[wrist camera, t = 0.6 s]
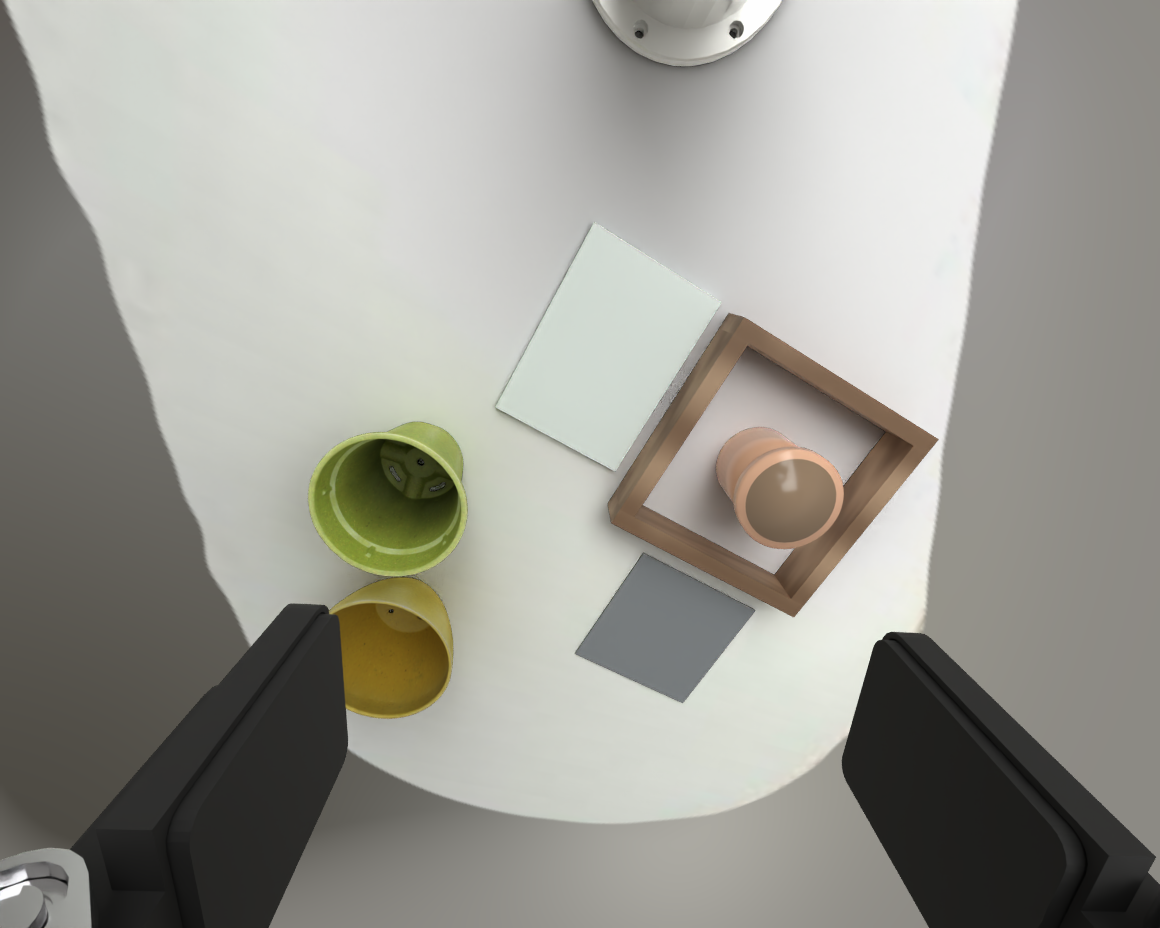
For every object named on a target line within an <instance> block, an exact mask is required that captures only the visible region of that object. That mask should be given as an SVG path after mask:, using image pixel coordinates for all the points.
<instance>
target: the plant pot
mask: <svg viewBox="0 0 1160 928" xmlns="http://www.w3.org/2000/svg"><path fill="white" fill-rule="evenodd" d="M419 459H422V460H423V461H424V465H422V466H420V465H419V464H418V462H417V461H418V460H419ZM390 466H393V467H394V469H395V471H396V473H397V475H398V476H399V478H400V479H401V482H400V481H397V480H396V479H395V477H394V476H393V475H392V474H391V472H390V469H389V467H390ZM462 472H463V457H462V453H461V450H460V448H459V446H458V444H457V443H456V441H455V440H454V439H453V437H452V436H451V435H450V434H449V433H448V432H446V431H445V430H443V429H442V428H439V427H437V426H434V425H431V424H427V423H423V422H411V423H406V424H403V425H401V426H399V427H397V428H394V429H392V430H390V431H388V432H374V433H367V434H362V435H358V436H355V437H352V438H349V439H347V440H345V441H343V442H341V443H340V444H338V445H337V446H335V447H334V448H332V449H331V450H330V451H329V452H328V453H327V454H326V455H325V456H324V457H323V458H322V459H321V461H320V462H319V464H318V465H317V467H316V468H315V470H314V472H313V475H312V477H311V480H310V484H309V490H308V504H309V510H310V515H311V519H312V522H313V524H314V526H315V529H316V530H317V532H318V534H319V535H320V537H321V538H322V539H323V541H324V543H325V544H326V545H327V546H328V547H329V548H330V549H331V550H332V551H333V552H334V553H335V554H337V555H338V556H339V557H340V558H341V559H342V560H344V561H345V562H347V563H349V564H350V565H352V566H354V567H356V568H359V569H361V570H364V571H366V572H369V573H372V574H377V575H382V576H392V577H393V576H408V575H413V574H417V573H420V572H423V571H426V570H428V569H430V568H432V567H434V566H436V565H437V564H439V563H440V562H441V561H443V560H444V559H445V558H446V557H447V556H448V555H449V554H450V553H451V552H452V551H453V550H454V549H455V547H456V546H457V544H458V543H459V541H460V539H461V537H462V535H463V532H464V529H465V526H466V521H467V512H468V508H467V499H466V494H465V491H464V488H463V485H462V483H461V480H462ZM442 482H445V483H446V485H445V486H444V487H443V488H442V489H439V490H437V491H430V490H429V489H430V488H431V487H434V486H437V485H439V484H441V483H442Z"/></svg>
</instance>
